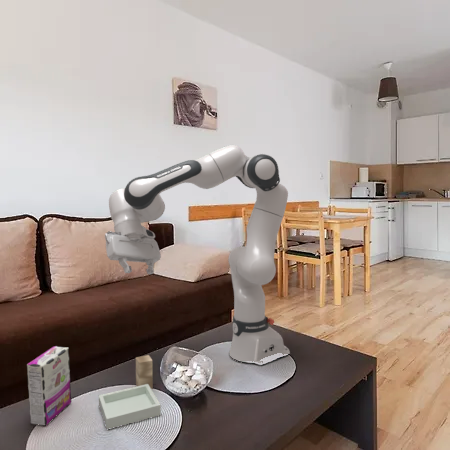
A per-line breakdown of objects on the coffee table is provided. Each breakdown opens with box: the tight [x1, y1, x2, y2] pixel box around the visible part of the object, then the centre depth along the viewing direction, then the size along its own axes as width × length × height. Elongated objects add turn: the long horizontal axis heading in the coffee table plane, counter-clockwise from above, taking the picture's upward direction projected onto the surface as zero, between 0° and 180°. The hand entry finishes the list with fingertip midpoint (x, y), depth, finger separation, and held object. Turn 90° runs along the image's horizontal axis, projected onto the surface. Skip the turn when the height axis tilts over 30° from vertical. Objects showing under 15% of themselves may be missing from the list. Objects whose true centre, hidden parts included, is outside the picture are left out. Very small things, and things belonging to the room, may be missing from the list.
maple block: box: [135, 354, 154, 390], centre depth 116 cm, size 4×4×9 cm
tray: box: [98, 384, 162, 430], centre depth 104 cm, size 14×12×3 cm
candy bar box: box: [26, 345, 72, 426], centre depth 102 cm, size 11×5×16 cm, turn 168°
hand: (140, 273), depth 121 cm, fingers open, 8 cm apart
